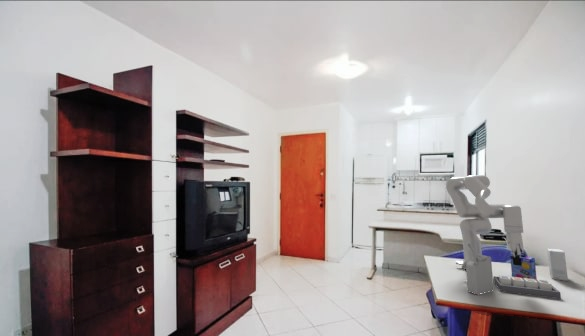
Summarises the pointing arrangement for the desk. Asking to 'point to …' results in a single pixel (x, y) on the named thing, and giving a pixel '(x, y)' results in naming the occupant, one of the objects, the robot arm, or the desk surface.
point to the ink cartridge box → (524, 268)
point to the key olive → (530, 283)
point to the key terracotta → (517, 281)
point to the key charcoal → (544, 284)
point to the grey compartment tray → (527, 290)
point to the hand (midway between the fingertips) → (517, 264)
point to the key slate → (505, 280)
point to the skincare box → (557, 264)
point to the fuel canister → (479, 273)
